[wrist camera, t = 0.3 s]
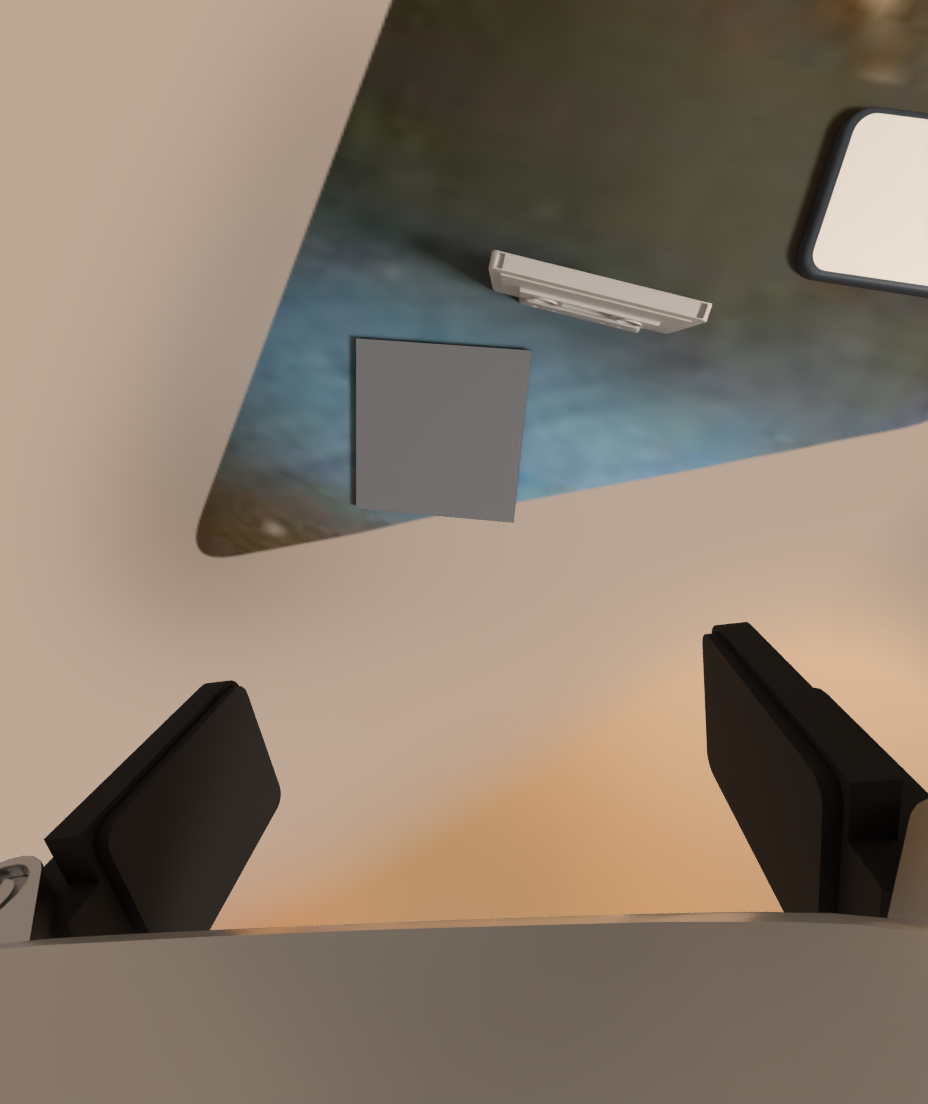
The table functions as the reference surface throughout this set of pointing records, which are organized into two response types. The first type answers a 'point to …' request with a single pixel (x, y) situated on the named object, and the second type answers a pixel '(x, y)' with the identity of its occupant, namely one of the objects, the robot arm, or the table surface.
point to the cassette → (593, 296)
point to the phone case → (872, 206)
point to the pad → (439, 428)
